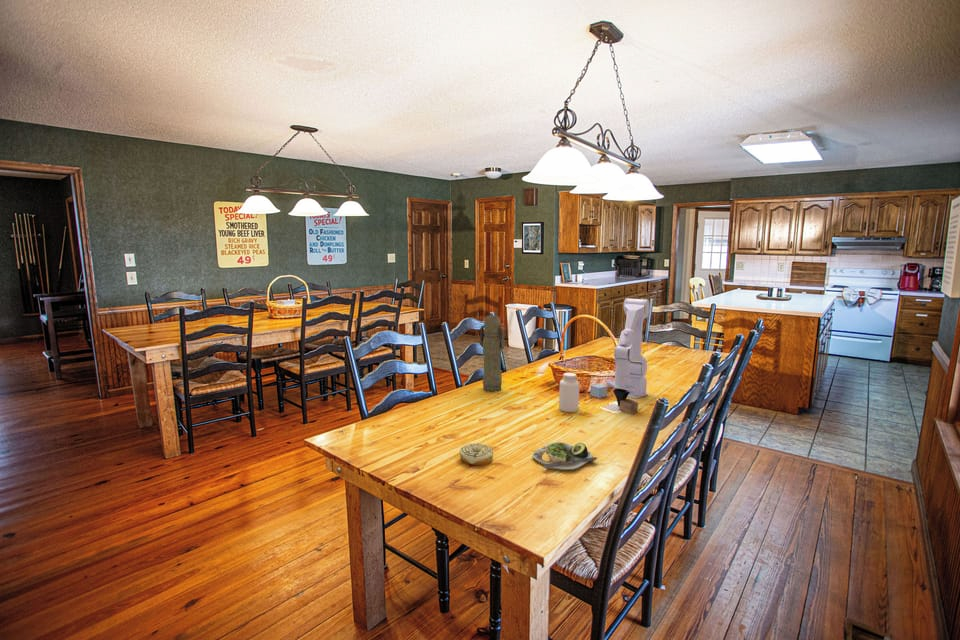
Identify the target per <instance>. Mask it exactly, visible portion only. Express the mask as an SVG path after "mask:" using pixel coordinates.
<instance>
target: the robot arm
mask: <svg viewBox="0 0 960 640" xmlns="http://www.w3.org/2000/svg"><path fill="white" fill-rule="evenodd" d="M623 311H624V315H626V319H625V325H624V329H623V330H622V331H621V332H620V336H619V339H618V344H617V346H615V347H614V351H613V358H614V364H615V369H614V370H615V372H614V381H613V380H606V382H605V383H606V384H605V386H607V387H611V388H613V390H612V392H613V394H614V395H615V399H616V401H617V403H618V407H620V401H621V400H625V399H628V397H629V398H630V399H638V398H641V397H644V396H648V395H649V394H648V393H647V387H648V386H647V384H648V383H647V382H648V380H647V378H646V374H647V369H648V364H647V363H648V362H647V361H648V360H647V359H646V358H645V357H644V356H643V355H642V353H641V352H642V341H643V327H644V322H645V321H644V320H645V319H647V318H649V313H650V301H649V299H647V298H646V299H645V298H644V299H643V298H639V299H638V298H629V297H626V298H625V299H624V302H623Z"/></svg>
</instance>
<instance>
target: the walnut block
mask: <svg viewBox="0 0 960 640" xmlns="http://www.w3.org/2000/svg"><path fill="white" fill-rule="evenodd" d="M638 408H639V402H638V401H635V400H633V399H632V398H630V397H629V398H628V397H627V398H626V399H625V400H621V401H620V408H619V410H621V411H623V413H625V414H628V415H632V414H633V413H637V412H638V410H639V409H638Z"/></svg>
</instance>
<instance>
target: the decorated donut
mask: <svg viewBox="0 0 960 640" xmlns="http://www.w3.org/2000/svg"><path fill="white" fill-rule="evenodd" d="M459 456H460V459H461V460H462V461H463V462H464V463H465V462H466V463H465V464H468V463H469V464H468V465H472V464H473V465H474V466H475V465H477V466H485V464H486V465H488V464H489V463H491V461H493V457H494V452H493V449H492V448H491V447H490V446H489V445H486V444H483V443H469V444H465V445H463V446H462V447H460V449H459ZM473 465H472V466H473Z"/></svg>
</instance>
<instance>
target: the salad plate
mask: <svg viewBox="0 0 960 640" xmlns="http://www.w3.org/2000/svg"><path fill="white" fill-rule="evenodd" d="M545 452H547V453H548V458H549V460H544V459H542V455H543V454H544V453H545ZM545 454H546V453H545ZM545 454H544V455H545ZM544 455H543V456H544ZM532 457H533V459H534V460H535V461H536V462H539V463H538V464H540V465H542V467H543V468H544V469H552V470H556V469H557V471H558V470H559V471H575V470H577V469H579V468H581V467H583V466H585V465H587V464H589V463H591V462H593V461H596V460H597V459H598V457H596V456H594V457H593V454H592V453H591V452H590V451H588V447H587V446H586V444H585V443H583V442H578V443H575V444H574V445H572V444H570V443H568V442H567V443H566V442H563V441H562V442H559V441H557V442H554V441H553V442H550V443H548V444H546V445H544V446H542V447H540V448H538V449H536V450H535V451H532Z"/></svg>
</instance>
